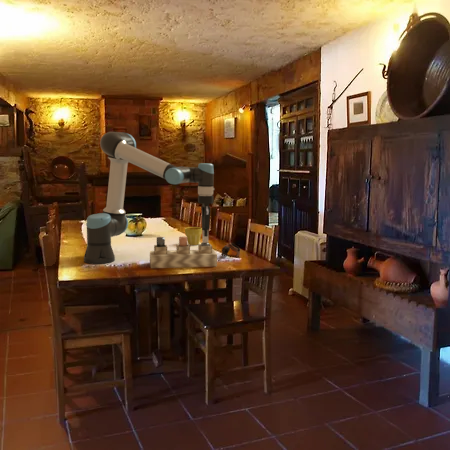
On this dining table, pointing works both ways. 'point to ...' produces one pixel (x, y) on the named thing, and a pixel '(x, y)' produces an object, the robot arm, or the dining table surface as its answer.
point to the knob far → (204, 244)
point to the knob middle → (182, 241)
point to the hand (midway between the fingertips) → (205, 242)
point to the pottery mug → (227, 248)
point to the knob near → (160, 241)
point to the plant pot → (193, 235)
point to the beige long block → (183, 257)
